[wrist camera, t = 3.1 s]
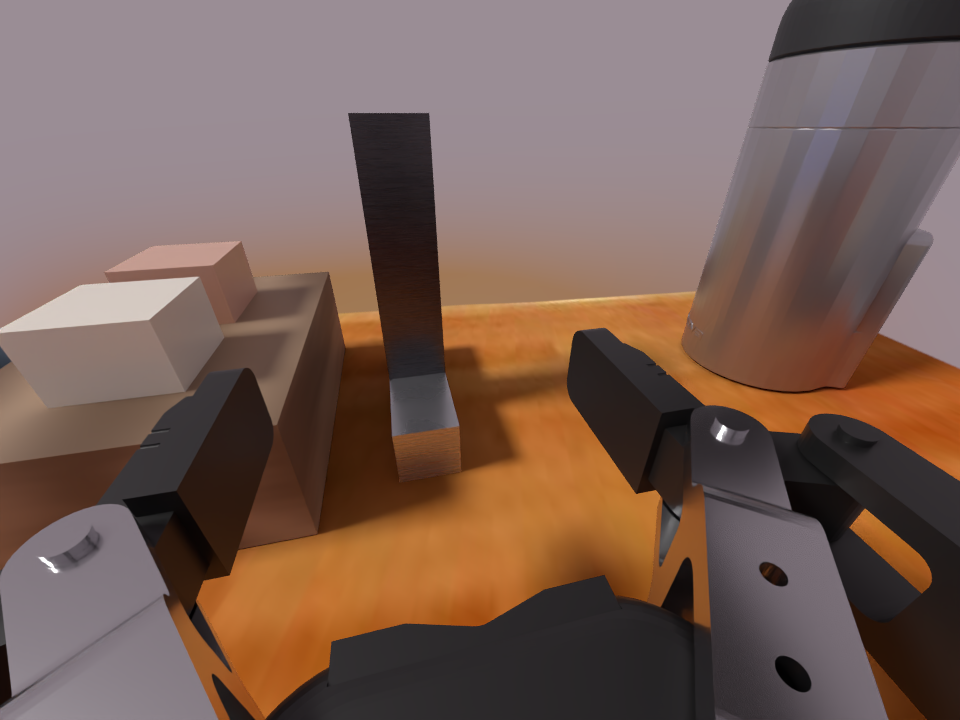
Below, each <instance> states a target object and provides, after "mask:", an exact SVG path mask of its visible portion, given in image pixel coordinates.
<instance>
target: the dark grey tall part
mask: <svg viewBox="0 0 960 720" xmlns="http://www.w3.org/2000/svg"><path fill="white" fill-rule="evenodd" d="M348 115H349V121H350V127H351V134H352V140H353V147H354V153H355V160H356V166H357V172H358V179H359V186H360V191H361V198H362V205H363V211H364V217H365V224H366V231H367V237H368V243H369V250H370V256H371V263H372V269H373V275H374V282H375V288H376V295H377V301H378V308H379V314H380V321H381V327H382V333H383V340H384V346H385V353H386V359H387V366H388V372H389V378H390V399H391V423H392V439H393V445H394V451H395V457H396V463H397V469H398V475H399V481H400V482H406V481H412V480H418V479H423V478H429V477H435V476H440V475H446V474H452V473H457V472H461V450H460V427H459V422H458V419H457V415H456V411H455V407H454V404H453V400H452V396H451V392H450V389H449V385H448V381H447V377H446V374H445V362H444V345H443V329H442V313H441V297H440V283H439V282H440V281H439V266H438V250H437V233H436V217H435V200H434V184H433V168H432V152H431V137H430V121H429V113H348Z"/></svg>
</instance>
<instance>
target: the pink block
mask: <svg viewBox="0 0 960 720" xmlns="http://www.w3.org/2000/svg"><path fill="white" fill-rule="evenodd" d="M105 275H106V277H107V279H108V281H109V283H117V282H131V281H145V280H159V279H173V278H187V277H200V279H201V281H202V284H203V286H204V289H205V291H206V294H207V296H208V299H209V301H210V303H211V306H212V308H213V311H214V313H215V316H216V318H217V321H218V323H219V324H230V323H235V322H236V321H237V320H238V318H239V317H240V315H241V314H242V313H243V311H244V310H245V308H246V307H247V306H248V304H249V303H250V302H251V300H252V299H253V297H254V296H255V295H256V293H257V292H258V291H257V288H256V285H255V282H254V279H253V276H252V273H251V270H250V267H249V264H248V260H247V258H246V255H245V251H244V248H243V245H242V242H241V241H236V242H218V243H202V244H183V245H166V246H152V247H150V248H149V249H147V250H145V251H143V252H141V253H139V254H137V255H135V256H134V257H132V258H130V259H128V260H126V261H124V262H123V263H121V264H119V265H117V266H115V267H113V268H111V269H110V270H108V271H106V272H105Z"/></svg>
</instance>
